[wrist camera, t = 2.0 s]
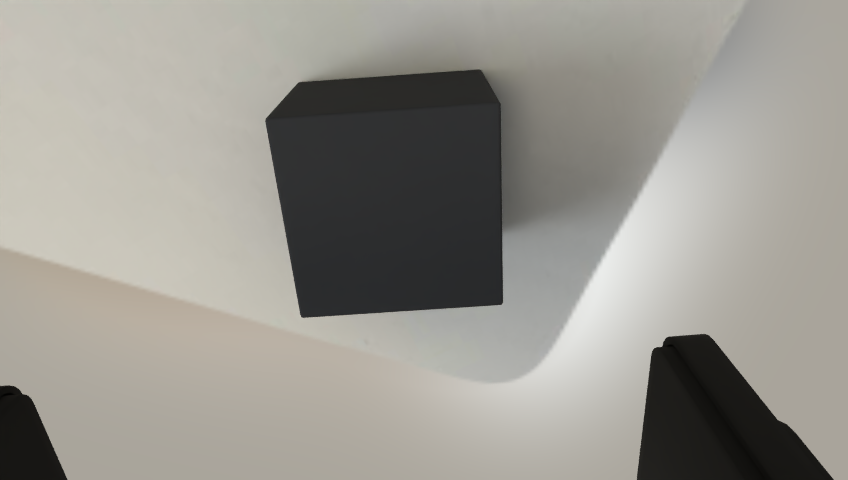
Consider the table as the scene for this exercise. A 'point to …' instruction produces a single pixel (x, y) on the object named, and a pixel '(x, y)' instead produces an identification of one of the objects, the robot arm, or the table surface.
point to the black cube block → (391, 192)
